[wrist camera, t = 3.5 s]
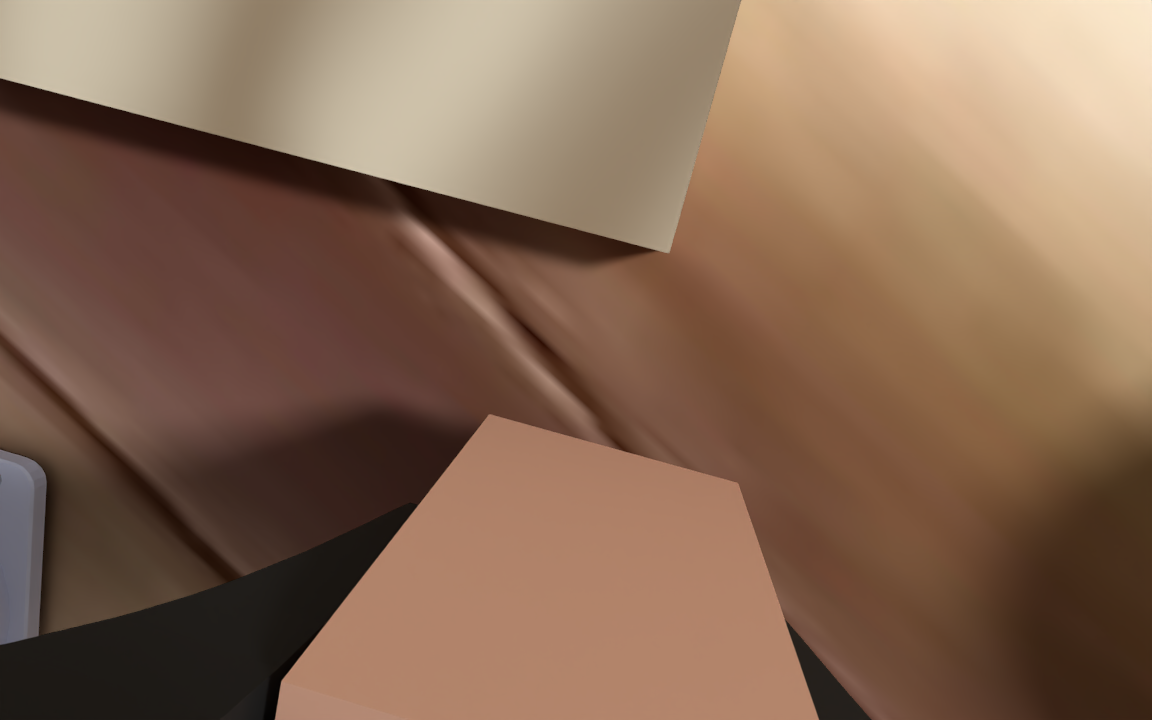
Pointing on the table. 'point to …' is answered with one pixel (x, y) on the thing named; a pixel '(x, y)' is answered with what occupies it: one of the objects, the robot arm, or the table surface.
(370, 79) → the board
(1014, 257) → the table surface
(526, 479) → the block
